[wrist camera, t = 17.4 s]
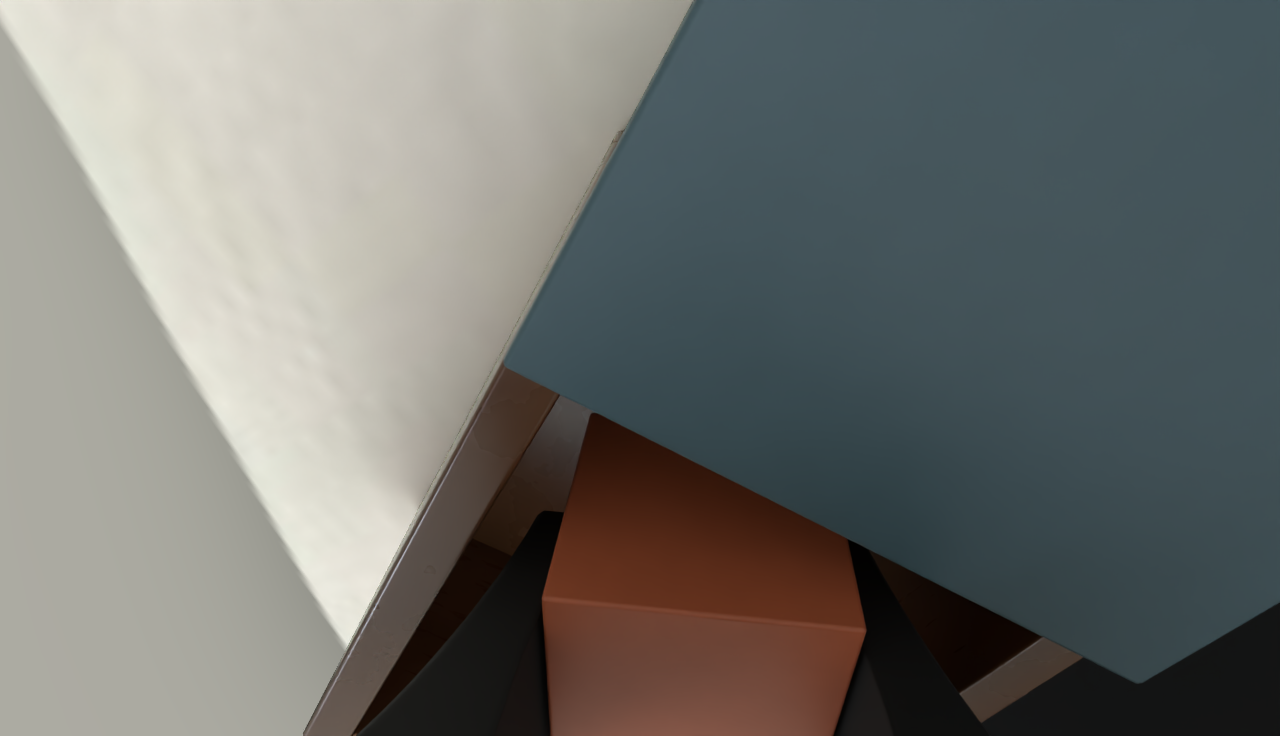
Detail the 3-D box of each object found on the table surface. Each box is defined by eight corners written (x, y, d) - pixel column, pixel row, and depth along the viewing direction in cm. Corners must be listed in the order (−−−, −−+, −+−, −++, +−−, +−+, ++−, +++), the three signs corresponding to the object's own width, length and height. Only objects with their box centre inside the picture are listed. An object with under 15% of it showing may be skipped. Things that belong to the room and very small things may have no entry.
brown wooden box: (1011, 361, 14) (1174, 602, 9) (717, 644, 20) (716, 893, 15) (619, 128, 12) (551, 267, 7) (417, 510, 18) (300, 738, 13)
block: (826, 430, 12) (868, 631, 8) (790, 591, 14) (813, 803, 11) (589, 411, 12) (540, 599, 9) (590, 571, 14) (551, 772, 11)
